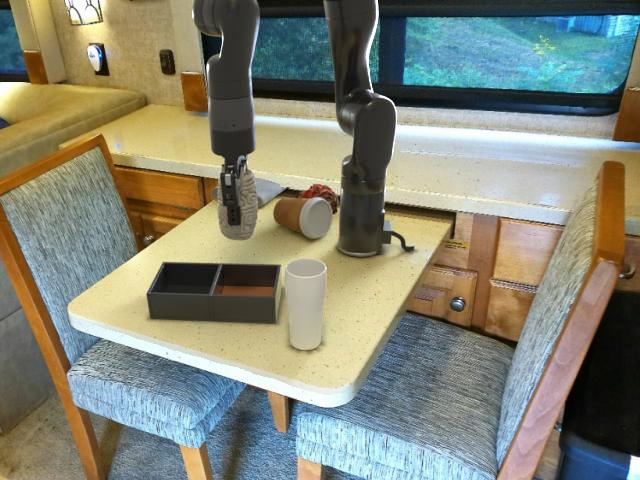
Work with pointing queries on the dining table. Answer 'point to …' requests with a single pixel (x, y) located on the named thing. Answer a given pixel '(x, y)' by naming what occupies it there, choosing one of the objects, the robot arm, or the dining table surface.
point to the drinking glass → (305, 301)
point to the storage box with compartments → (216, 292)
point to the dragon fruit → (321, 195)
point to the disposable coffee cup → (304, 215)
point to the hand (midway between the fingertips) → (237, 216)
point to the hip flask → (261, 191)
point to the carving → (247, 209)
